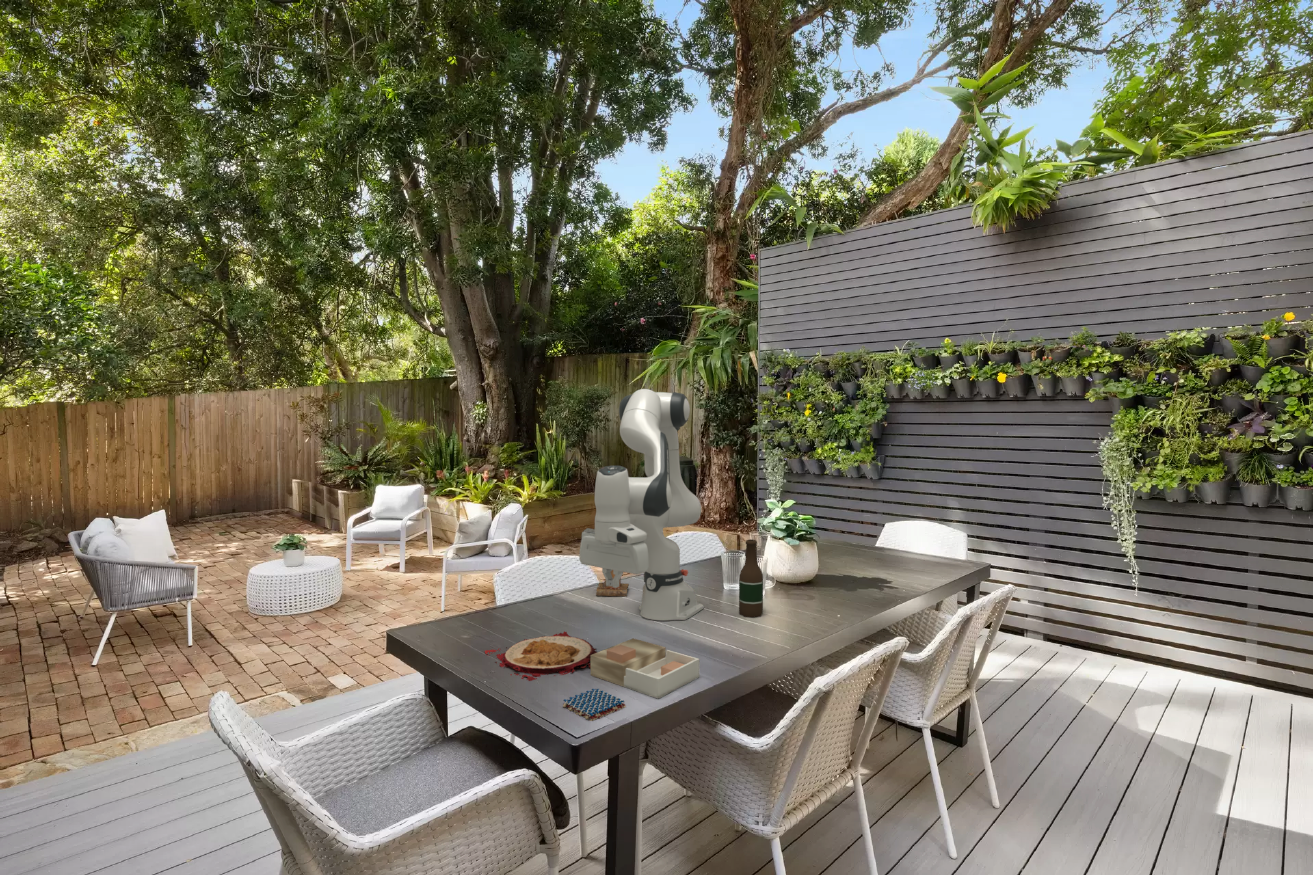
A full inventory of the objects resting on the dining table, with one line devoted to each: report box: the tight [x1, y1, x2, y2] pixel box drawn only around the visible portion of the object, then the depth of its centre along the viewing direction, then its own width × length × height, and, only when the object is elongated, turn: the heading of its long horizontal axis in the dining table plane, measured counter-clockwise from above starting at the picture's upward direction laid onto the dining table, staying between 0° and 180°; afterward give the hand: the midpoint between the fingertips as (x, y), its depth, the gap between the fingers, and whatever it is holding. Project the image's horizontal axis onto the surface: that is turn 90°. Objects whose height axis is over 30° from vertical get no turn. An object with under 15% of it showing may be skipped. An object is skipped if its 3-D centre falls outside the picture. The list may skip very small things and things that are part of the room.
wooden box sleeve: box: [590, 637, 667, 688], centre depth 167 cm, size 16×11×5 cm
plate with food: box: [484, 631, 598, 682], centre depth 176 cm, size 25×26×4 cm
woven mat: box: [562, 688, 627, 722], centre depth 146 cm, size 10×11×2 cm
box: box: [624, 649, 700, 700], centre depth 160 cm, size 16×10×4 cm, turn 141°
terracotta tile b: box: [607, 645, 636, 663], centre depth 162 cm, size 5×5×2 cm
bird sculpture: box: [595, 570, 630, 597], centre depth 239 cm, size 11×12×32 cm
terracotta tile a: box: [661, 661, 685, 676], centre depth 163 cm, size 5×5×2 cm
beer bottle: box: [738, 538, 764, 619], centre depth 213 cm, size 8×8×24 cm
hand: (612, 586), depth 166 cm, fingers closed
